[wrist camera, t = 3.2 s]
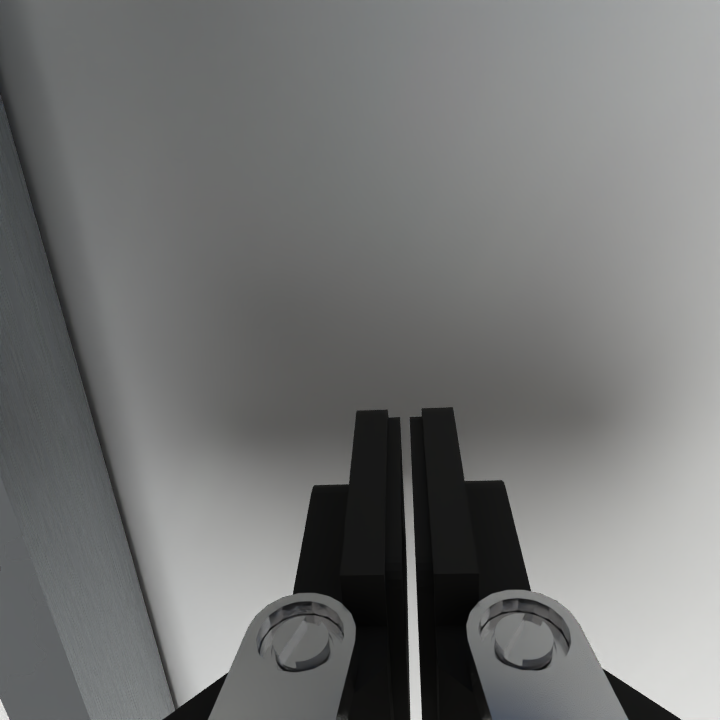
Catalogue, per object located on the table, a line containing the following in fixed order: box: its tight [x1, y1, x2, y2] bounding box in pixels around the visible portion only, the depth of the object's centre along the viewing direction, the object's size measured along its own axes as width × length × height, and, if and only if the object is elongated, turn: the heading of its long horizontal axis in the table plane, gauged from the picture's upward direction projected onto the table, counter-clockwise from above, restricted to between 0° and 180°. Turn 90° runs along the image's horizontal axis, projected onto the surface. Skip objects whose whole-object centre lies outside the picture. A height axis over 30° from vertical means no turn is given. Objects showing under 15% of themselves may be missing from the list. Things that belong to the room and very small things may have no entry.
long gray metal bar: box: [0, 94, 175, 720], centre depth 12 cm, size 18×2×3 cm, turn 4°
